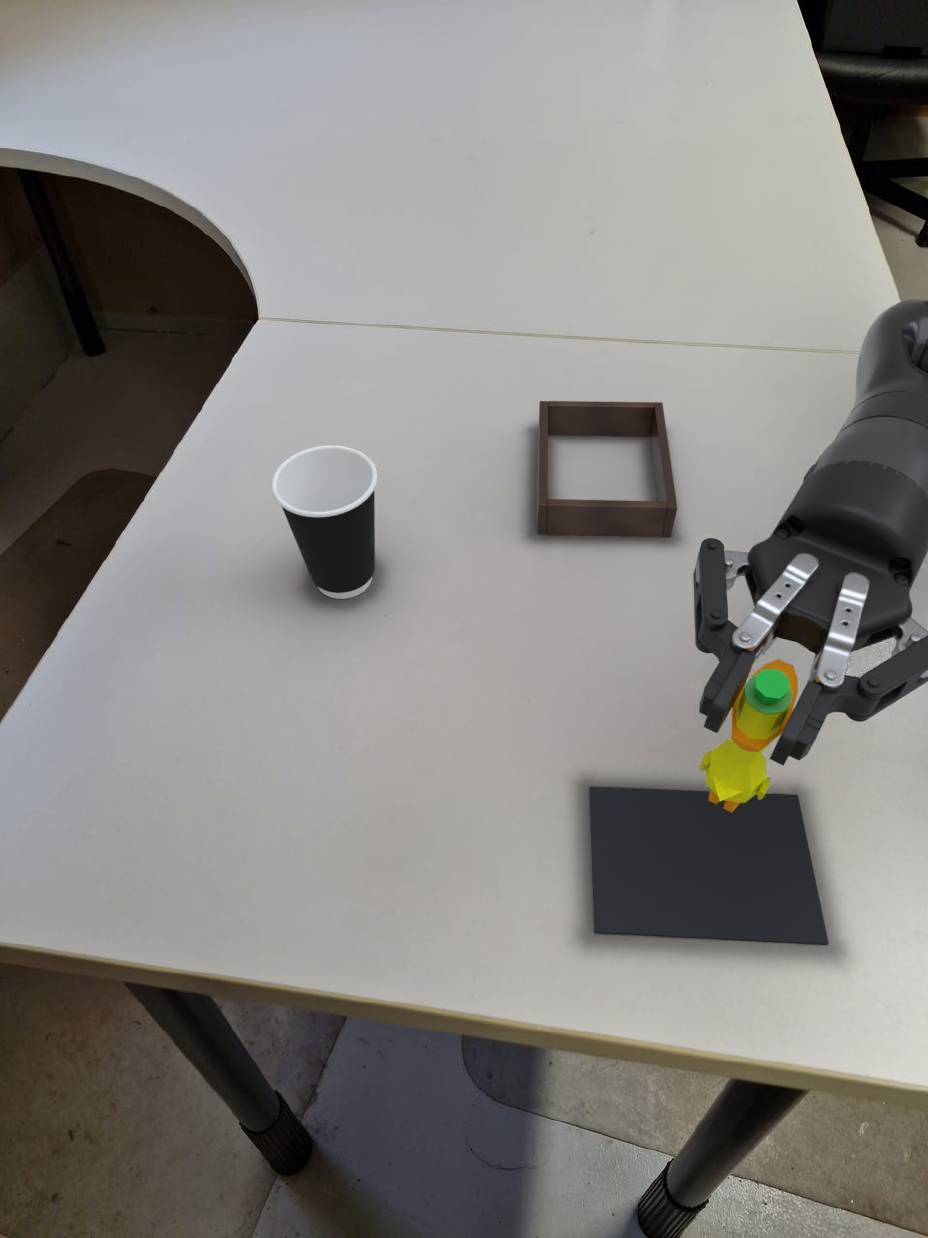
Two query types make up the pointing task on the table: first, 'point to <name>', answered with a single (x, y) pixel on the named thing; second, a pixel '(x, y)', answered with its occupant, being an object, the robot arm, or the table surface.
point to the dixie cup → (331, 515)
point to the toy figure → (751, 736)
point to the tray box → (606, 513)
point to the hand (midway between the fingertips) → (746, 735)
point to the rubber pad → (702, 867)
